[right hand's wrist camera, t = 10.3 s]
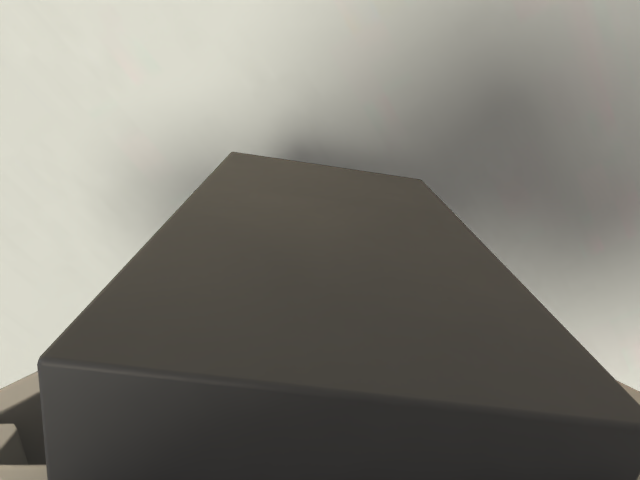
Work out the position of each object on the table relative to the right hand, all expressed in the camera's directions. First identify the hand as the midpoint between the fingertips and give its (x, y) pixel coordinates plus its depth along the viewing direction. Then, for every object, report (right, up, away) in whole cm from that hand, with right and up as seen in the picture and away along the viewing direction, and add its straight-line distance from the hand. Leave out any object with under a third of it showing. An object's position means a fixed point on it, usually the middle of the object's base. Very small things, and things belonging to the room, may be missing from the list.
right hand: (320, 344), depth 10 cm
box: (-2, -8, +9) cm, 12 cm away
